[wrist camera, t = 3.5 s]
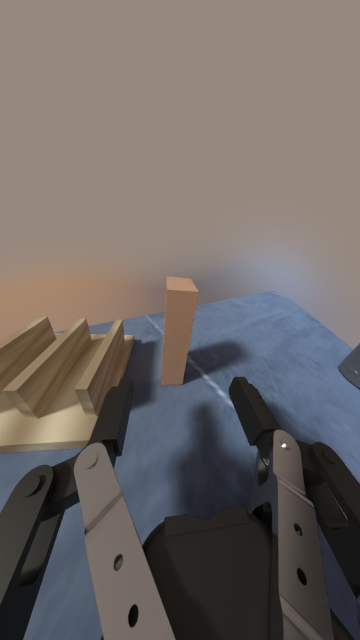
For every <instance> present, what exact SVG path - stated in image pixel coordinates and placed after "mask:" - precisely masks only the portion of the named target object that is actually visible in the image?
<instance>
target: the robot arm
mask: <svg viewBox="0 0 360 640" xmlns="http://www.w3.org/2000/svg"><path fill="white" fill-rule="evenodd" d="M339 369H340V371H341V373H342V374H343V375H344V376H345V377H346V378H347V379H348V380H349V381H350V382H351V383H353V384H354V385H355V386H357V387H358V388H359V389H360V344H359V345H358V346H357V347H356V348H355V349H354V350H353V351H352V352H351V353H350V354H349V355H348V356H347V357H346V358H345V359H344V360H343V362H342V363H341V364H340V365H339ZM229 395H230V398H231V400H232V403H233V405H234V408H235V410H236V413H237V415H238V417H239V420H240V422H241V425H242V427H243V430H244V432H245V435H246V437H247V439H248V442H249V444H250V446H255V445H256V446H257V449H258V451H257V457H256V468H255V478H254V486H253V490H252V492H251V495H250V499H249V506H248V512H247V511H246V510H245V507H244V506H239V507H232V508H226V509H224V510H223V511H221V512H220V513H219V514H217V515H216V516H214V517H213V518H211V519H210V520H203V519H200V518H196V517H193V516H190V515H186V514H184V515H178V516H171V517H165V519H164V522H162V523H161V524H159V525H158V526H157V527H156V528H155V529H154V530H153V531H152V532H151V533H150V535H149V536H148V537H147V539H146V540H145V542H144V544H143V546H142V544H141V541H140V539H139V536H138V533H137V530H136V528H135V525H134V522H133V520H132V517H131V514H130V512H129V509H128V506H127V504H126V501H125V498H124V495H123V493H122V490H121V487H120V485H119V482H118V479H117V476H116V474H115V471H114V465H115V461H116V456H121V455H122V450H123V444H124V439H125V434H126V429H127V424H128V419H129V414H130V409H131V404H132V399H133V383H132V378H121V379H120V382H119V385H118V386H112V387H111V389H110V390H109V391H108V392H107V394H106V396H105V399H104V402H103V404H102V407H101V411H100V413H99V415H98V418H97V421H96V423H95V426H94V429H93V431H92V434H91V437H90V439H89V441H88V443H87V445H86V446H85V447H84V449H83V450H82V451H81V452H80V453H78V454H77V455H76V456H74V457H72V458H70V459H68V460H66V461H64V462H62V463H59V464H57V465H55V466H53V467H50V466H49V465H41V466H38V467H36V468H34V469H32V470H31V471H30V472H28V473H27V474H26V475H25V476H24V477H23V478H22V479H21V480H20V481H19V482H18V484H17V485H16V487H15V488H14V490H13V492H12V493H11V495H10V497H9V499H8V501H7V502H6V504H5V506H4V508H3V510H2V511H1V513H0V640H23V638H24V635H25V632H26V629H27V626H28V623H29V620H30V617H31V613H32V610H33V607H34V604H35V601H36V598H37V595H38V592H39V589H40V586H41V583H42V580H43V576H44V573H45V570H46V567H47V564H48V561H49V558H50V555H51V552H52V549H53V546H54V543H55V540H56V536H57V533H58V530H59V527H60V524H61V521H62V518H63V515H64V512H65V510H66V509H68V508H69V507H71V506H73V505H75V504H76V503H78V502H80V504H81V509H82V514H83V519H84V524H85V544H86V550H87V555H88V561H89V566H90V571H91V576H92V581H93V586H94V591H95V596H96V602H97V607H98V612H99V617H100V622H101V627H102V632H103V635H102V638H101V640H354V638H353V637H352V636H351V634H350V633H349V632H348V631H347V629H346V628H345V627H344V625H343V624H342V623H341V622H340V620H339V619H338V618H337V616H336V615H335V614H334V613H333V611H332V610H331V609H330V607H329V601H328V595H327V588H326V581H325V574H324V568H323V561H322V554H321V547H320V540H319V534H318V527H317V522H318V524H319V526H320V528H321V530H322V531H323V533H324V535H325V537H326V539H327V541H328V543H329V545H330V547H331V549H332V551H333V553H334V555H335V557H336V559H337V561H338V563H339V565H340V567H341V569H342V571H343V573H344V575H345V577H346V579H347V581H348V583H349V585H350V587H351V589H352V591H353V593H354V595H355V597H356V599H357V608H358V613H357V621H358V624H359V627H360V484H359V483H358V481H357V480H356V479H355V477H354V476H353V475H352V473H351V472H350V471H349V469H348V468H347V467H346V465H345V464H344V463H343V461H342V460H341V459H340V457H339V456H338V455H337V454H336V453H335V452H334V451H333V450H332V449H331V448H330V447H328V446H327V445H325V444H323V443H321V442H315V443H314V444H313V445H309V444H306V443H303V442H300V441H297V440H295V439H294V438H293V437H292V436H291V435H290V434H288V433H287V432H285V431H283V430H282V429H281V427H280V426H279V424H278V423H277V421H276V419H275V418H274V416H273V414H272V413H271V411H270V410H269V408H268V406H267V405H266V404H265V401H264V400H263V398H262V396H261V395H260V393H259V391H258V390H257V389H256V388H255V387H254V386H253V385H252V384H249V383H248V381H247V379H246V378H245V377H234V378H233V380H232V383H231V385H230V387H229ZM325 482H326V484H327V485H328V487H329V489H330V490H331V492H332V494H333V495H334V497H335V498H336V500H337V502H338V503H339V505H340V506H341V508H342V510H343V511H344V513H345V515H346V517H347V519H348V520H347V519H346V517H345V516H344V514H343V512H342V511H341V509H340V508H339V506H338V504H337V503H336V501H335V499H334V498H333V496H332V495H331V493H330V491H329V490H328V488H327V486H326V485H325Z"/></svg>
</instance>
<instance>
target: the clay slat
mask: <svg viewBox="0 0 360 640" xmlns="http://www.w3.org/2000/svg"><path fill="white" fill-rule="evenodd" d="M198 293H199V292H198V290H197V288H196V287H195V285H194V283H193V282H192V280H191V279H189V278H177V277H167V280H166V299H165V315H164V333H163V351H162V382H161V385H182V384H183V378H184V372H185V367H186V361H187V355H188V350H189V344H190V338H191V333H192V327H193V321H194V316H195V310H196V304H197V299H198Z"/></svg>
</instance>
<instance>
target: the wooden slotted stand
mask: <svg viewBox="0 0 360 640" xmlns="http://www.w3.org/2000/svg"><path fill="white" fill-rule="evenodd" d="M133 343H134V335H124V330H123V321H122V320H115V322H114V324H113V325H112V327H111V329H110V330H109V332H108V334H107V335H104V334H90V331H89V328H88V324H87V320H86V318H79V319H78V320H77V321H76V322H75V323H74V324H72V325H71V326H70V327H69V328H68V329H67V330H66V331H65V332H64V333H54V332H53V329H52V327H51V324H50V322H49V320H48V317H38V318H37V319H35V320H34V321H32V322H31V323H29V324H27V325H26V326H24V327H23V328H21V329H19V330H18V331H16V332H15V333H13V334H12V335H10V336H8V337H7V338H5V339H4V340H2V341H1V342H0V453H13V452H27V451H42V450H56V449H70V448H84V447H85V446H86V445H87V443H88V441H89V439H90V437H91V434H92V431H93V429H94V426H95V423H96V421H97V418H98V415H99V413H100V411H101V407H102V404H103V402H104V399H105V396H106V394H107V392H108V391H109V390H110V389H111V387H112V386H118V385H119V382H120V379H121V378H123V377H124V374H125V370H126V367H127V363H128V360H129V357H130V353H131V350H132V347H133Z"/></svg>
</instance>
